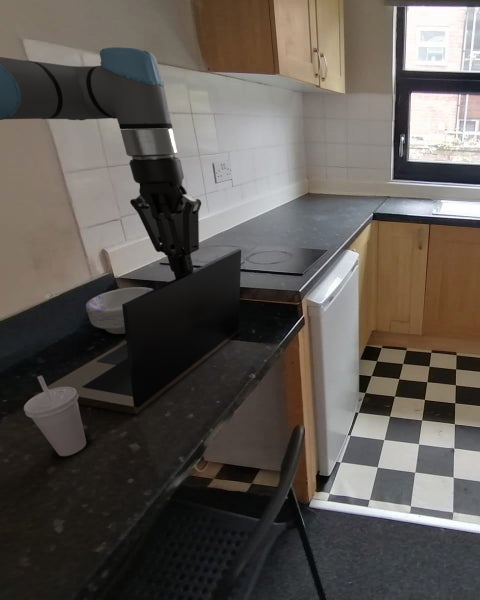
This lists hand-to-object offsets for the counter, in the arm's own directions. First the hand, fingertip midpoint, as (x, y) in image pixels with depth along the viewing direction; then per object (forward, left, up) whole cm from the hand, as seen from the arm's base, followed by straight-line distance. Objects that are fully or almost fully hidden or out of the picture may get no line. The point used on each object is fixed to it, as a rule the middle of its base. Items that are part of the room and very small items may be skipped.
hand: (186, 287), depth 77 cm
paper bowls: (-33, +13, -19) cm, 40 cm away
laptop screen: (-1, 0, -7) cm, 7 cm away
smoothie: (-7, -24, -19) cm, 31 cm away
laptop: (-14, 0, -19) cm, 23 cm away
